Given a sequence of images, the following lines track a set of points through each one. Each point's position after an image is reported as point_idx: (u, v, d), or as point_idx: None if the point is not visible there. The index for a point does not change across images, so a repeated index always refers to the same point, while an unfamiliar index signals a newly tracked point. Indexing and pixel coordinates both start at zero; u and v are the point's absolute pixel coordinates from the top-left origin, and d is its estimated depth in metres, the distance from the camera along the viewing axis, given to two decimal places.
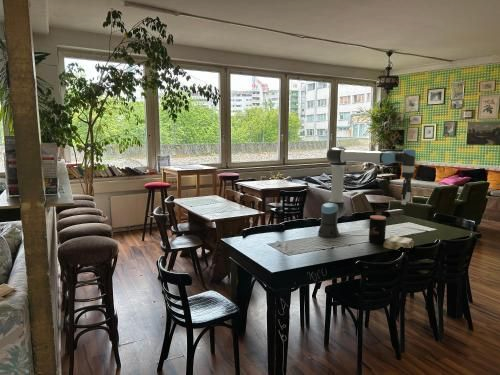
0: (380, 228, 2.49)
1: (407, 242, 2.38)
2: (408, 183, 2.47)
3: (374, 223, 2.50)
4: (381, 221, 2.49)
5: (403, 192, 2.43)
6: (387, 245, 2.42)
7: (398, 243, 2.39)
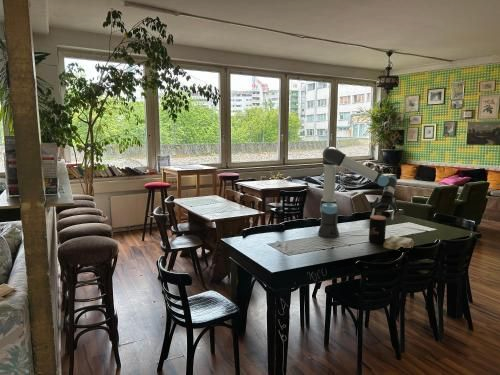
0: (380, 228, 2.49)
1: (407, 242, 2.38)
2: None
3: (374, 223, 2.50)
4: (381, 221, 2.49)
5: (398, 209, 2.57)
6: (387, 245, 2.42)
7: (398, 243, 2.39)
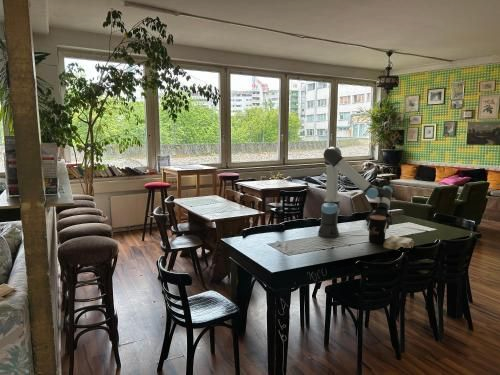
0: (380, 228, 2.49)
1: (407, 242, 2.38)
2: (385, 215, 2.59)
3: (374, 223, 2.50)
4: (381, 221, 2.49)
5: None
6: (387, 245, 2.42)
7: (398, 243, 2.39)
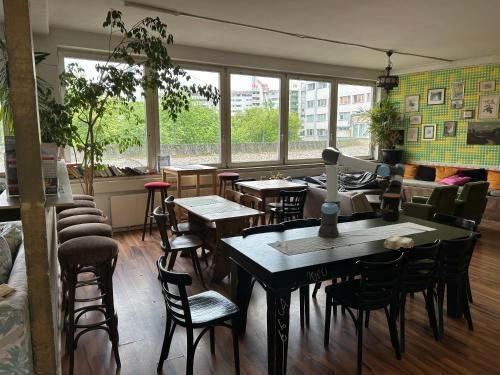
0: (395, 206, 2.42)
1: (407, 242, 2.38)
2: None
3: (388, 201, 2.43)
4: (395, 198, 2.41)
5: None
6: (387, 245, 2.42)
7: (398, 243, 2.39)
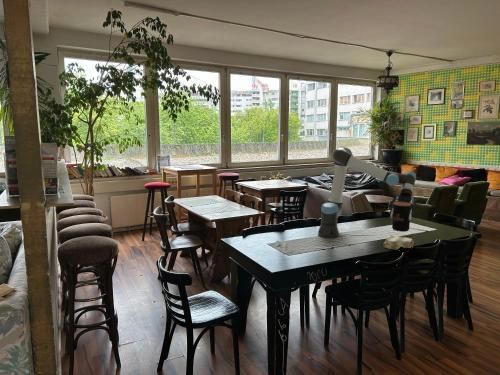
0: (405, 215, 2.37)
1: (407, 242, 2.38)
2: None
3: (398, 209, 2.38)
4: (406, 207, 2.37)
5: None
6: (387, 245, 2.42)
7: (398, 243, 2.39)
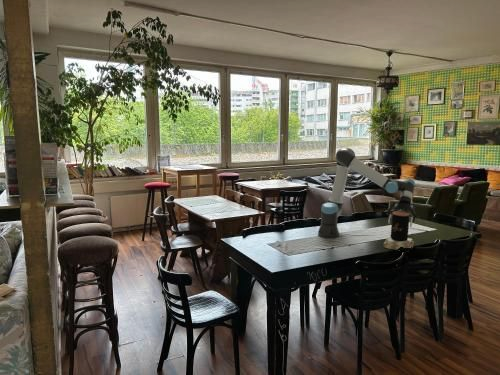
0: (404, 225, 2.39)
1: (407, 242, 2.38)
2: None
3: (397, 219, 2.40)
4: (404, 217, 2.38)
5: None
6: (387, 245, 2.42)
7: (398, 243, 2.39)
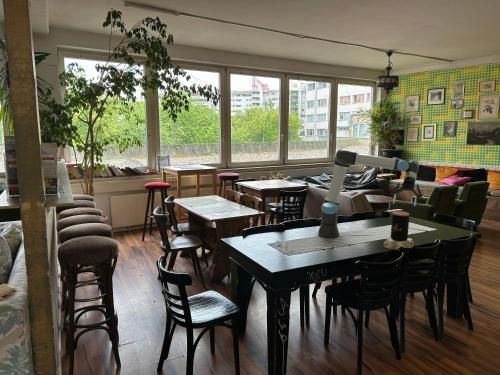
0: (404, 225, 2.39)
1: (407, 242, 2.38)
2: None
3: (397, 219, 2.40)
4: (404, 217, 2.38)
5: (421, 195, 2.49)
6: (387, 245, 2.42)
7: (398, 243, 2.39)
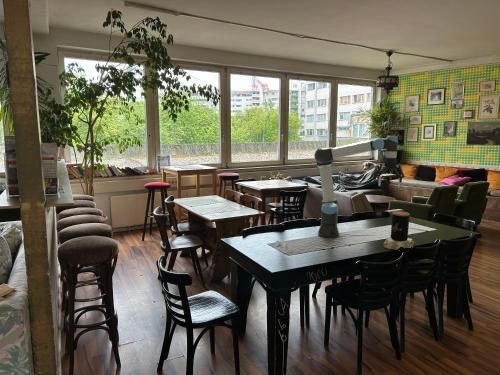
0: (404, 225, 2.39)
1: (407, 242, 2.38)
2: None
3: (397, 219, 2.40)
4: (404, 217, 2.38)
5: (404, 176, 2.62)
6: (387, 245, 2.42)
7: (398, 243, 2.39)
